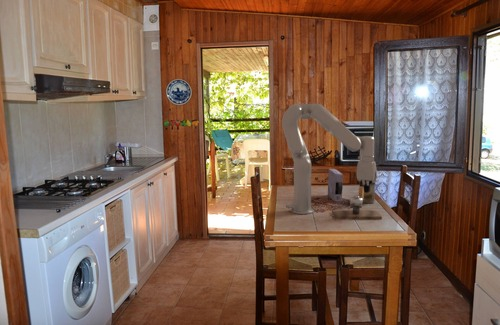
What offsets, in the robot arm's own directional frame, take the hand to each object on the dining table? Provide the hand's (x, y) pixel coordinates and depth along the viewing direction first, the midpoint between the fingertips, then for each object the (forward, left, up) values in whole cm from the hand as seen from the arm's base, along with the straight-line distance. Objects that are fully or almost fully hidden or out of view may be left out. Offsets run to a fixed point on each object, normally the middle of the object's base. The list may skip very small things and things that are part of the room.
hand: (366, 192), depth 223 cm
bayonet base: (-7, -7, -11) cm, 15 cm away
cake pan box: (-13, +32, -12) cm, 36 cm away
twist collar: (-5, -4, -5) cm, 8 cm away
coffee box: (+5, +24, -12) cm, 27 cm away
